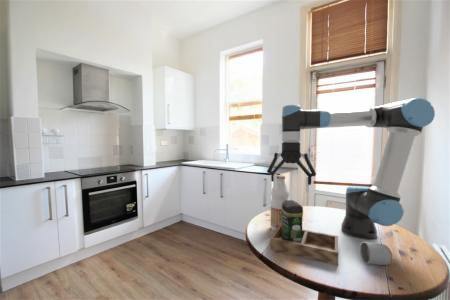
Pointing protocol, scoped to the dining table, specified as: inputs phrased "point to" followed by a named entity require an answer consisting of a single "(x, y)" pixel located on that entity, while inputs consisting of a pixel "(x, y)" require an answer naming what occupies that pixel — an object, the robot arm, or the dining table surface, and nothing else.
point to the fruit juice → (278, 201)
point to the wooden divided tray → (308, 246)
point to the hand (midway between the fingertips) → (290, 190)
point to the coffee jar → (292, 221)
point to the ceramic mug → (375, 253)
